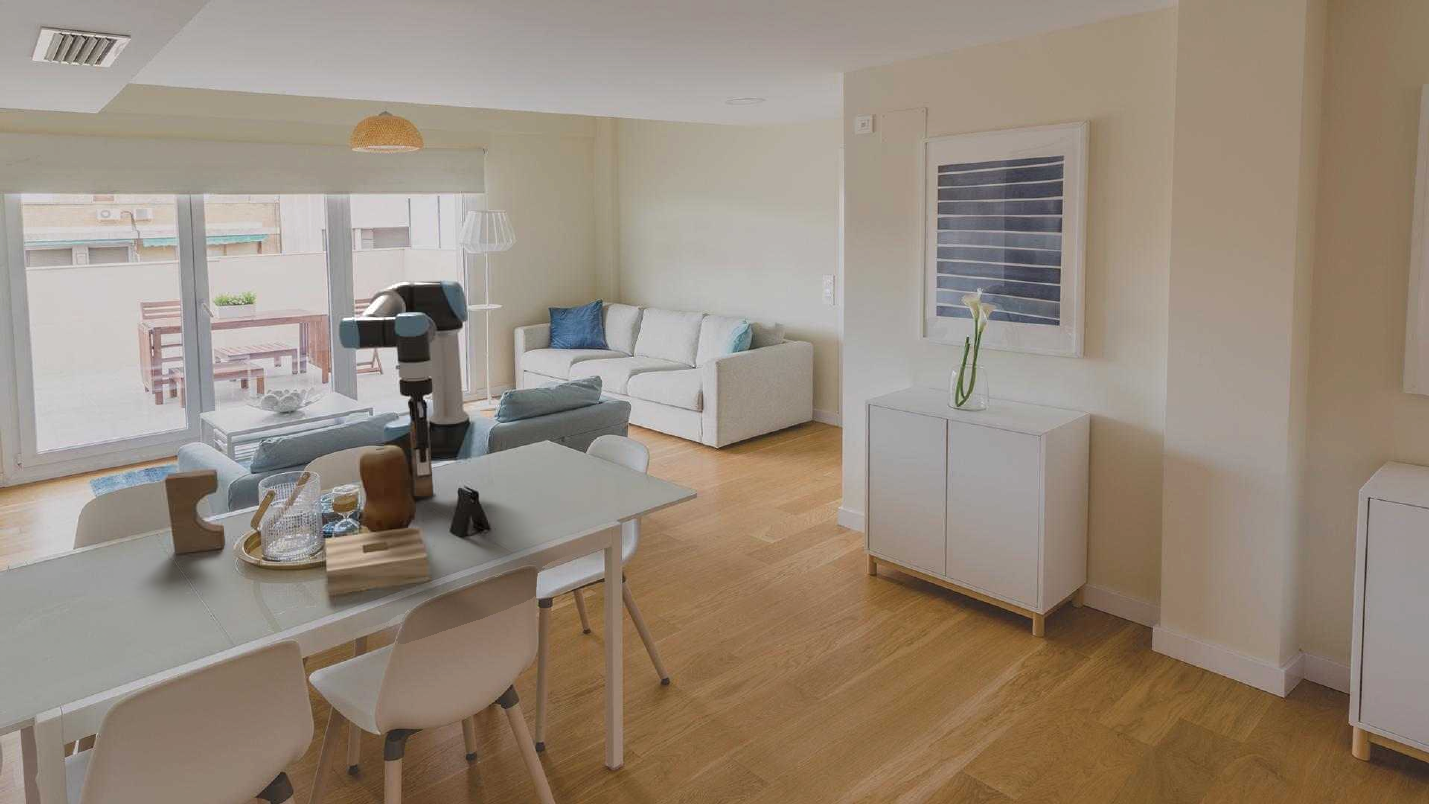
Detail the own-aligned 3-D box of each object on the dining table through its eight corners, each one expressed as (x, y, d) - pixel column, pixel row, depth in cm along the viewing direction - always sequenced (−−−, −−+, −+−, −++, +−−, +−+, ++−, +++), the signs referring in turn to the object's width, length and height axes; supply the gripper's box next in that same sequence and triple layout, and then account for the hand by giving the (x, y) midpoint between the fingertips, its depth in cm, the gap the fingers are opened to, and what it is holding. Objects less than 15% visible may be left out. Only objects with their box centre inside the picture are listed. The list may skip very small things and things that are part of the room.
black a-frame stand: (461, 538, 248) (458, 494, 245) (449, 532, 252) (447, 489, 250) (491, 529, 254) (488, 487, 252) (479, 524, 258) (476, 482, 256)
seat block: (327, 561, 232) (325, 538, 231) (419, 548, 241) (418, 526, 239) (329, 595, 213) (326, 571, 211) (429, 580, 221) (427, 556, 220)
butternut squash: (364, 532, 252) (356, 442, 247) (416, 525, 257) (409, 437, 252) (365, 550, 240) (357, 456, 234) (420, 543, 244) (413, 450, 239)
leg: (413, 492, 231) (408, 421, 227) (432, 489, 233) (427, 419, 229) (415, 497, 227) (410, 425, 223) (434, 495, 229) (429, 423, 225)
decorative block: (225, 541, 245) (217, 468, 241) (223, 549, 240) (214, 474, 236) (178, 547, 241) (168, 473, 237) (174, 555, 236) (164, 479, 232)
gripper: (395, 372, 230) (402, 464, 235) (403, 385, 214) (410, 483, 220) (426, 370, 233) (432, 460, 238) (437, 383, 217) (443, 479, 223)
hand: (422, 471), depth 229 cm, fingers closed on leg, 4 cm apart
